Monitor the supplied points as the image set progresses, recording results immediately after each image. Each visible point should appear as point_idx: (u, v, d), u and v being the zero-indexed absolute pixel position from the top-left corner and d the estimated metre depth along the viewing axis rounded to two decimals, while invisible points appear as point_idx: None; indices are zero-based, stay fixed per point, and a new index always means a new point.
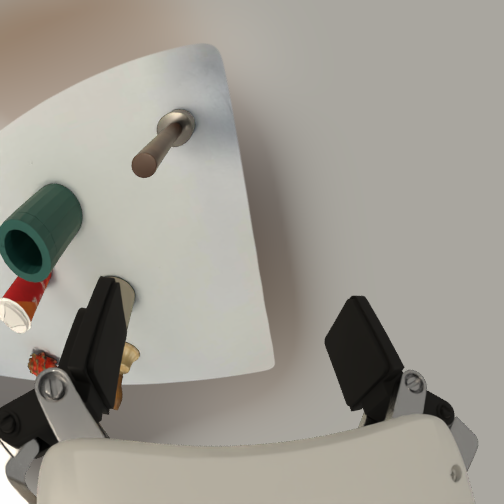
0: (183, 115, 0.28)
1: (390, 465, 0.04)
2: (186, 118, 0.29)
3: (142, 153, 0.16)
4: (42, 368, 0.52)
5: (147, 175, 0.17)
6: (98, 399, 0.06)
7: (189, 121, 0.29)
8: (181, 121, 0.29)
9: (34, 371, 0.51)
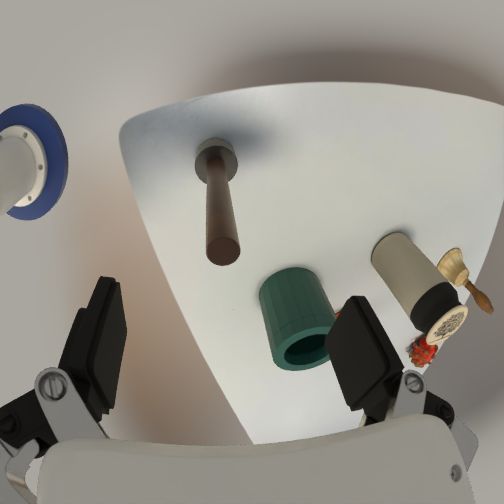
0: (199, 156, 0.26)
1: (390, 465, 0.04)
2: (203, 152, 0.26)
3: (207, 253, 0.14)
4: (425, 353, 0.59)
5: (237, 248, 0.14)
6: (98, 399, 0.06)
7: (207, 149, 0.26)
8: (206, 157, 0.26)
9: (423, 363, 0.60)
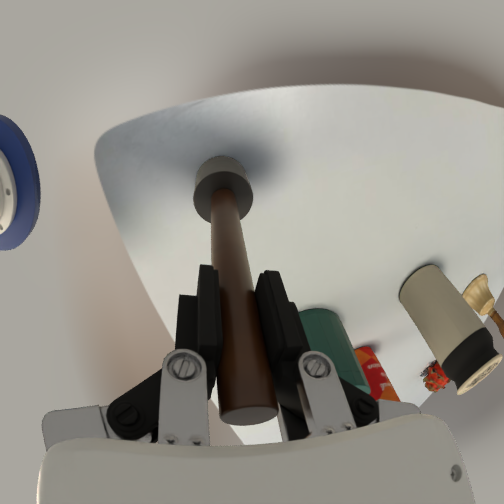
0: (199, 186, 0.19)
1: (390, 465, 0.04)
2: (204, 181, 0.19)
3: (221, 418, 0.07)
4: (440, 379, 0.51)
5: (274, 412, 0.07)
6: None
7: (210, 176, 0.19)
8: (209, 188, 0.19)
9: (437, 388, 0.53)
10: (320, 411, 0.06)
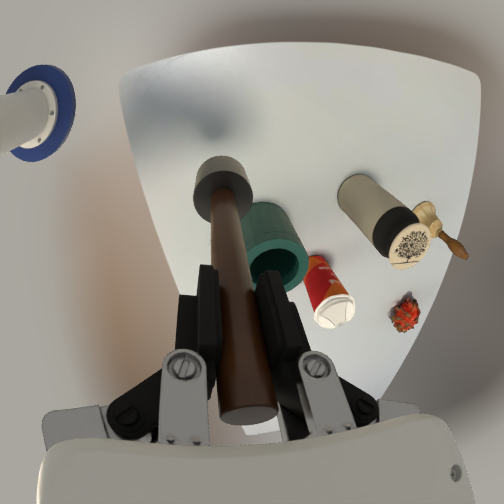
0: (199, 185, 0.19)
1: (390, 465, 0.04)
2: (204, 180, 0.19)
3: (221, 417, 0.07)
4: (406, 316, 0.63)
5: (274, 411, 0.07)
6: None
7: (210, 175, 0.19)
8: (209, 187, 0.19)
9: (405, 327, 0.65)
10: (320, 411, 0.06)
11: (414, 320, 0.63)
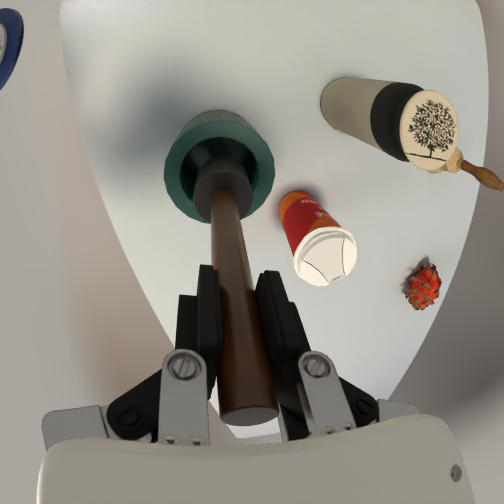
0: (199, 185, 0.19)
1: (390, 465, 0.04)
2: (204, 180, 0.19)
3: (221, 418, 0.07)
4: (425, 287, 0.48)
5: (274, 412, 0.07)
6: None
7: (210, 176, 0.19)
8: (209, 188, 0.19)
9: (424, 302, 0.49)
10: (320, 411, 0.06)
11: (434, 292, 0.48)
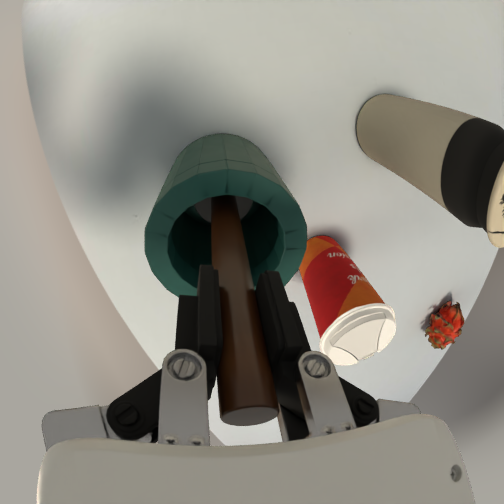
0: None
1: (390, 465, 0.04)
2: None
3: (222, 418, 0.07)
4: (448, 327, 0.41)
5: (274, 412, 0.07)
6: None
7: None
8: None
9: (445, 342, 0.42)
10: (320, 411, 0.06)
11: (457, 332, 0.40)
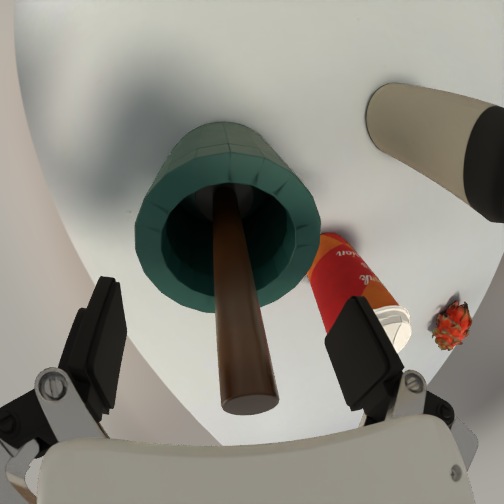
0: None
1: (390, 465, 0.04)
2: None
3: (223, 407, 0.07)
4: (455, 328, 0.38)
5: (274, 400, 0.07)
6: (98, 399, 0.06)
7: None
8: (211, 186, 0.20)
9: (452, 343, 0.39)
10: None
11: (464, 333, 0.38)
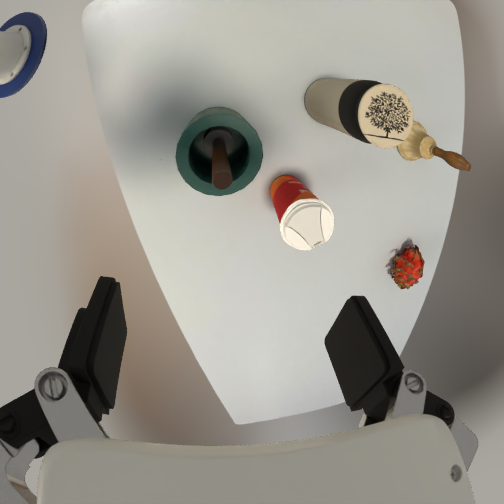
0: (206, 137, 0.35)
1: (390, 465, 0.04)
2: (209, 134, 0.35)
3: (212, 180, 0.23)
4: (408, 266, 0.54)
5: (230, 178, 0.23)
6: (98, 399, 0.06)
7: (212, 132, 0.35)
8: (211, 138, 0.35)
9: (408, 280, 0.55)
10: None
11: (418, 271, 0.54)
